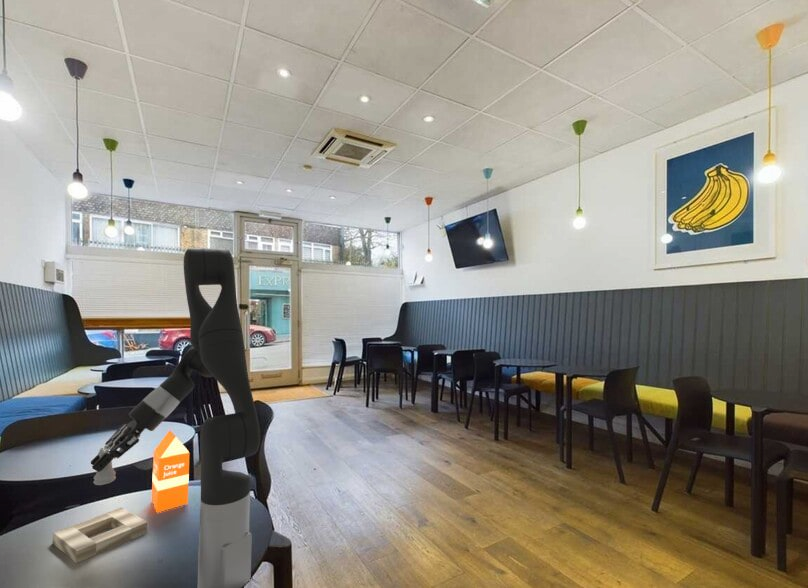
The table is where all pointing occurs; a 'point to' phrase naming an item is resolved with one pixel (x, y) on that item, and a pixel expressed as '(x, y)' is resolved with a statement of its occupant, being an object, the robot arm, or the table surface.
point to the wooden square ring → (83, 547)
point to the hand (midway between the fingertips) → (94, 467)
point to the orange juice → (170, 474)
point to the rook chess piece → (104, 471)
